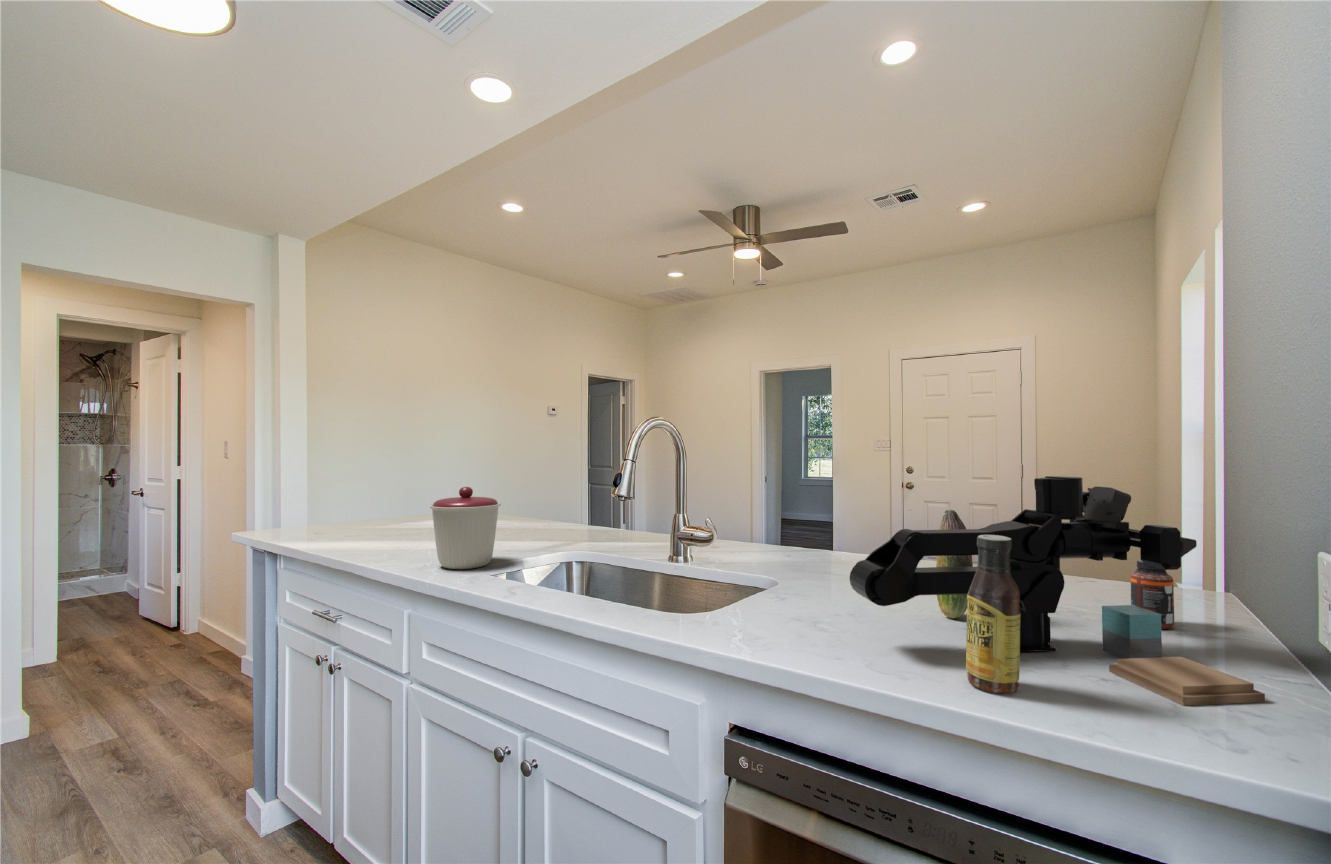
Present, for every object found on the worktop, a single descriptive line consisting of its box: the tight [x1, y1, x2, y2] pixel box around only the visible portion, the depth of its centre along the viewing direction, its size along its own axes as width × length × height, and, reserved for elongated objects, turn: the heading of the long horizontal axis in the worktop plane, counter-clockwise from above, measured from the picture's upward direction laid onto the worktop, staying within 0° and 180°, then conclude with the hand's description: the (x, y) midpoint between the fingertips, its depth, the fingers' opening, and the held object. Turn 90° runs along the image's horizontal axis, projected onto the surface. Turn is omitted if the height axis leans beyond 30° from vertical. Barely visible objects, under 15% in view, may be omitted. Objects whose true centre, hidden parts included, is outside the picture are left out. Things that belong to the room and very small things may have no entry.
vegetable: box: [935, 509, 974, 619], centre depth 111 cm, size 6×6×20 cm
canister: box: [429, 486, 502, 570], centre depth 160 cm, size 18×18×21 cm
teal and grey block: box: [1101, 604, 1163, 659], centre depth 90 cm, size 5×5×7 cm
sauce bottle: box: [965, 535, 1021, 694], centre depth 79 cm, size 6×6×20 cm
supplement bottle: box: [1129, 558, 1175, 630], centre depth 106 cm, size 6×6×11 cm
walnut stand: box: [1108, 656, 1266, 706], centre depth 79 cm, size 11×11×2 cm
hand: (1168, 538), depth 98 cm, fingers open, 9 cm apart
